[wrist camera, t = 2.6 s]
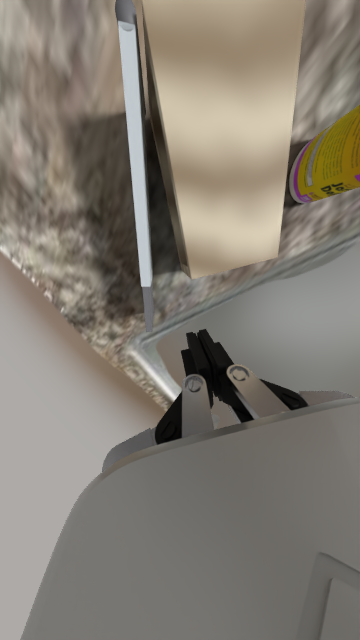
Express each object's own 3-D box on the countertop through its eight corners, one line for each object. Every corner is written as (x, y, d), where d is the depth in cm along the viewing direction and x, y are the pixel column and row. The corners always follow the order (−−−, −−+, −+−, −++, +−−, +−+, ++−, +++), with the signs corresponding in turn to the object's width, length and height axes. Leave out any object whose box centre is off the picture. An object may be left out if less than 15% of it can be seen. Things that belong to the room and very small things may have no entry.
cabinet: (150, 118, 15) (141, -3, 8) (239, 96, 15) (310, -42, 8) (181, 270, 22) (191, 279, 15) (240, 254, 22) (277, 257, 15)
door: (132, 99, 13) (113, -10, 8) (145, 101, 14) (135, -4, 8) (148, 312, 24) (144, 331, 18) (155, 312, 24) (153, 331, 18)
